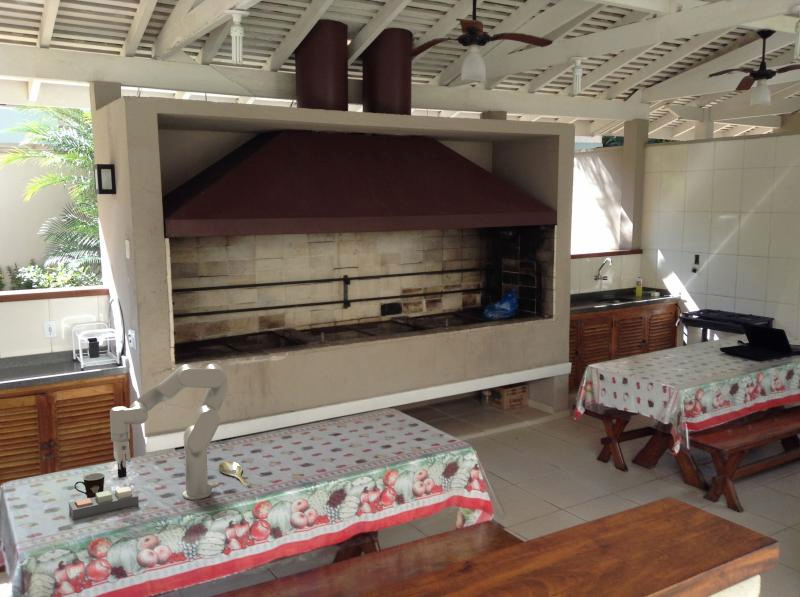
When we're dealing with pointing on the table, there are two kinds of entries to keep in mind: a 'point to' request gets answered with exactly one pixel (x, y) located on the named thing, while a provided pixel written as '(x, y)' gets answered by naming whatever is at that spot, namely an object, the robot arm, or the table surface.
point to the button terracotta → (83, 502)
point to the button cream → (123, 492)
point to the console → (103, 506)
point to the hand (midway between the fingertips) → (122, 476)
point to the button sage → (103, 496)
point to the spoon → (232, 466)
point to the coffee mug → (92, 484)
